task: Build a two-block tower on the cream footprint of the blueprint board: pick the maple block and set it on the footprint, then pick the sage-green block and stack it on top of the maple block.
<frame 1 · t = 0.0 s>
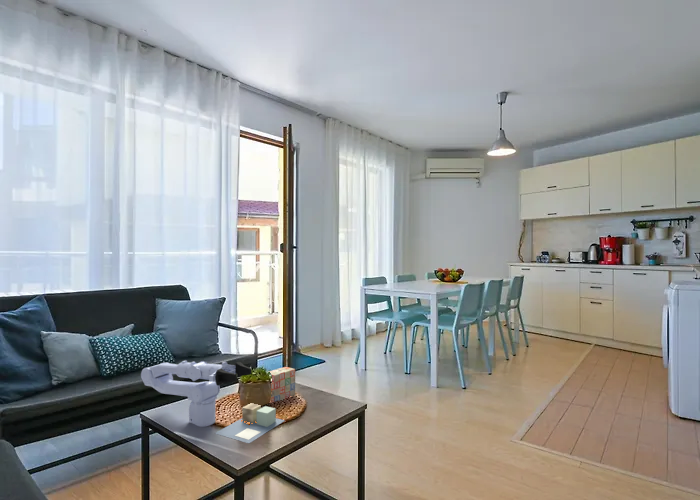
hand: (243, 374, 142), 22 cm above the table, tool horizontal, fingers open, 7 cm apart
blueprint board: (251, 428, 147), on the table
maple block: (251, 419, 153), point 1 cm above the table, touching blueprint board
sage block: (266, 422, 150), point 1 cm above the table, touching blueprint board
stack of blocks: (272, 401, 174), on the table
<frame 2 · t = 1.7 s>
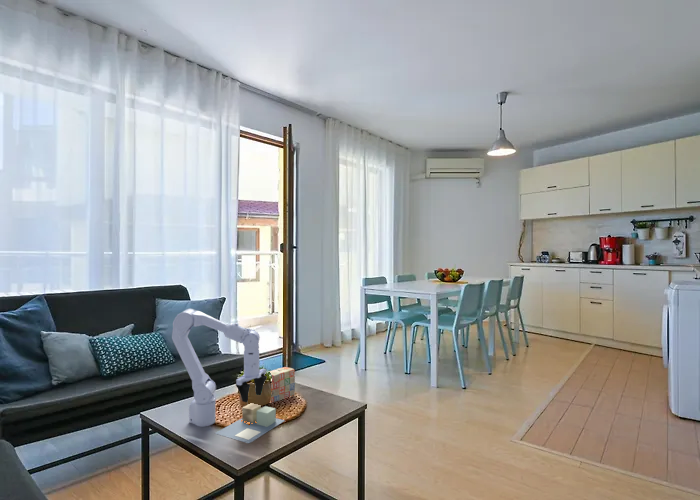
hand: (251, 398, 153), 9 cm above the table, tool pointing down, fingers open, 7 cm apart
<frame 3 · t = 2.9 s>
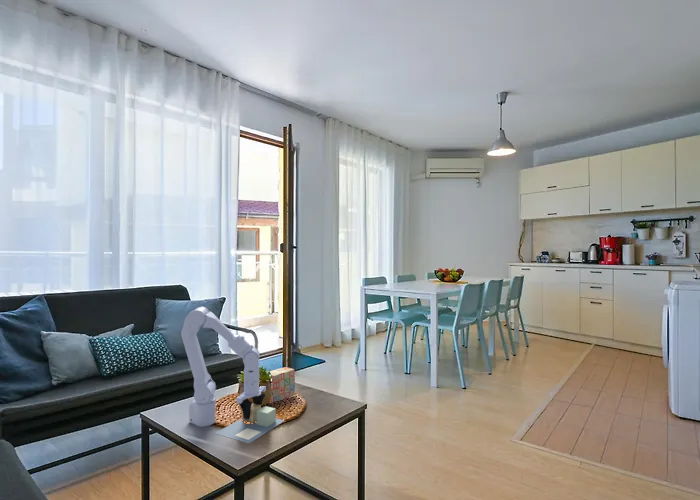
hand: (251, 415, 153), 2 cm above the table, tool pointing down, fingers closed on maple block, 5 cm apart
maple block: (251, 419, 153), point 1 cm above the table, touching blueprint board, gripper
everything else where it was.
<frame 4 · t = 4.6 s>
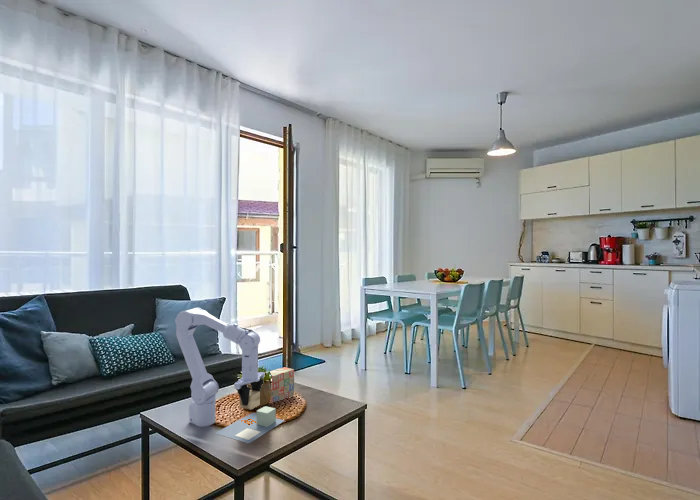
hand: (250, 402, 148), 9 cm above the table, tool pointing down, fingers closed on maple block, 5 cm apart
maple block: (250, 406, 148), point 8 cm above the table, touching gripper
everything else where it was.
when the fingers open (3 cm above the table, at t = 6.7 s): maple block stays where it is, resting on blueprint board.
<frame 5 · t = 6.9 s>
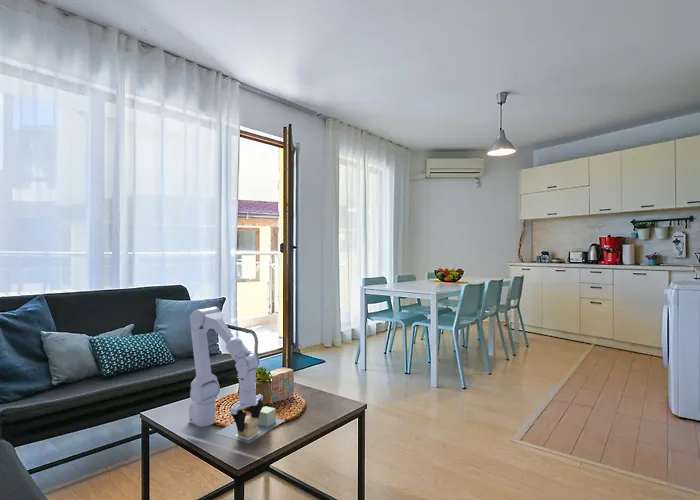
hand: (247, 426, 141), 3 cm above the table, tool pointing down, fingers open, 7 cm apart
maple block: (248, 433, 141), point 1 cm above the table, touching blueprint board
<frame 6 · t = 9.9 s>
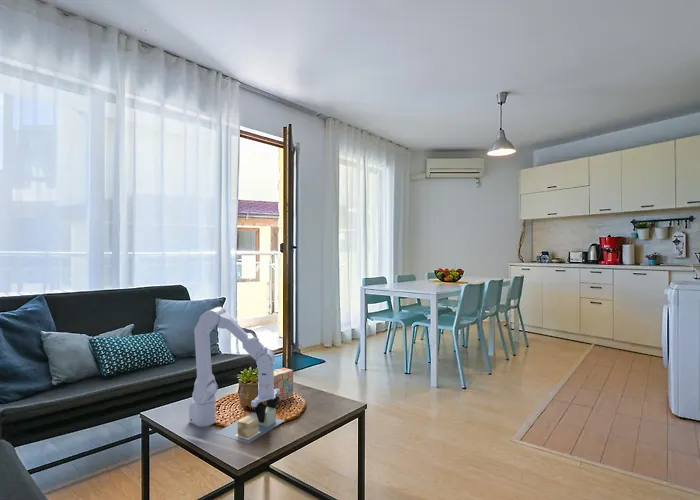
hand: (266, 419, 150), 2 cm above the table, tool pointing down, fingers closed on sage block, 5 cm apart
sage block: (266, 422, 150), point 1 cm above the table, touching blueprint board, gripper
when the fingers open (8 cm above the table, at t = 12.9 s): sage block stays where it is, resting on maple block.
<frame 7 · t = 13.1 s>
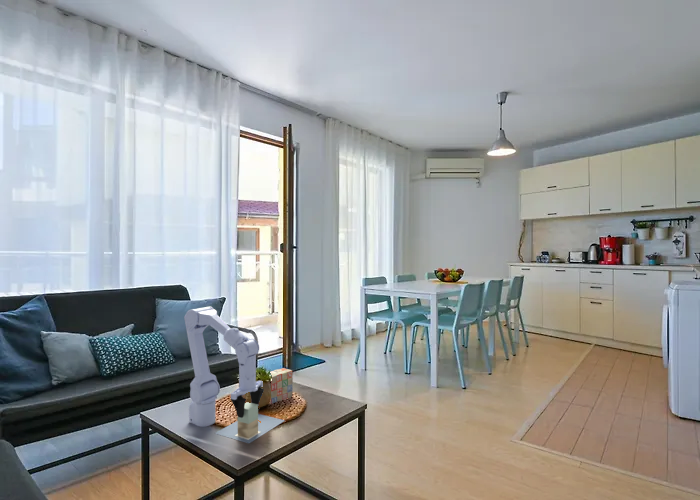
hand: (247, 412, 141), 8 cm above the table, tool pointing down, fingers open, 7 cm apart
maple block: (248, 433, 141), point 1 cm above the table, touching blueprint board, sage block
sage block: (247, 419, 141), point 6 cm above the table, touching maple block
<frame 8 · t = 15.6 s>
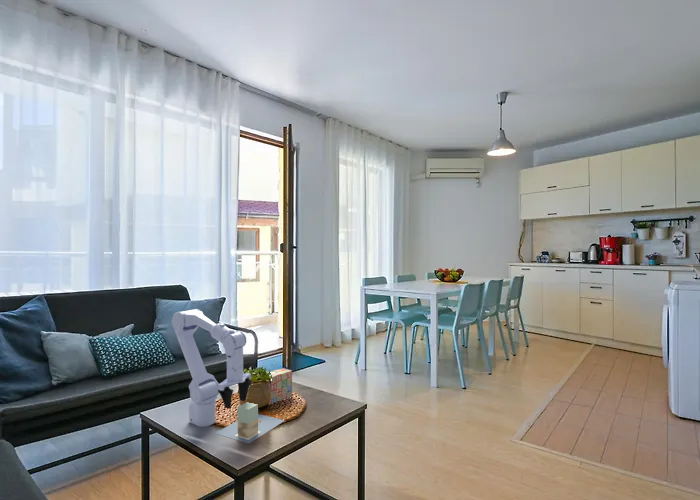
hand: (235, 404, 144), 10 cm above the table, tool pointing down, fingers open, 7 cm apart
at the end: maple block 0.1 cm from the target spot, point 0.9 cm above the table; sage block 0.0 cm off-centre on the maple block, point 5.0 cm above the maple block's base; sage block tilted 0° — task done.
